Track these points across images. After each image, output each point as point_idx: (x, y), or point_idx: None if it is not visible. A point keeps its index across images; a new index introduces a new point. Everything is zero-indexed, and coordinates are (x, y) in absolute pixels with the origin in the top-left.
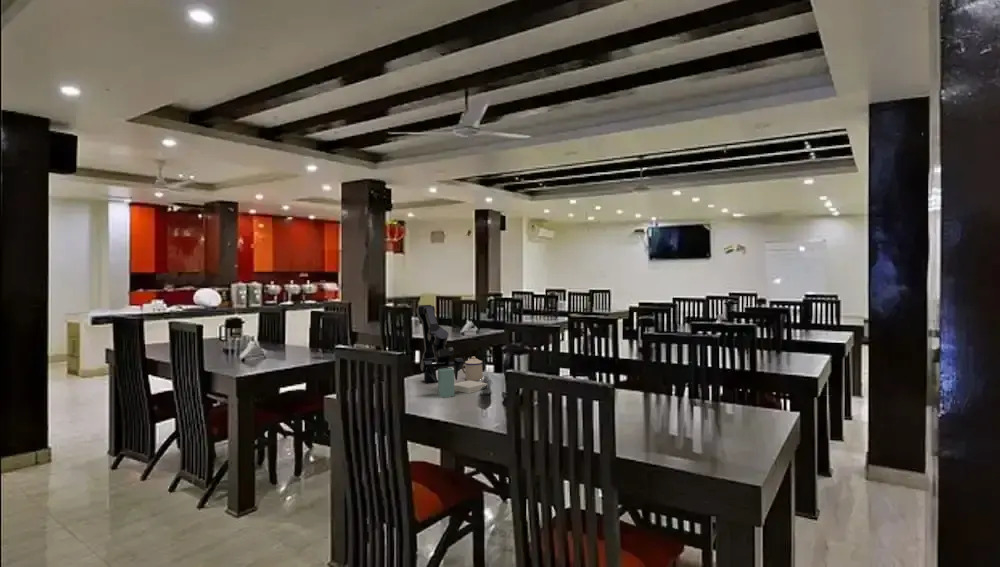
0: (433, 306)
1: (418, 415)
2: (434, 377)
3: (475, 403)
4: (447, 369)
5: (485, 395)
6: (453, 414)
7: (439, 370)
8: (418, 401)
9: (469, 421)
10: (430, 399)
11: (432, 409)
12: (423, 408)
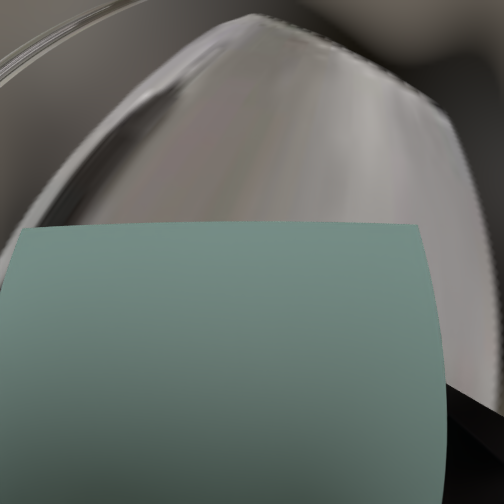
0: None
1: (426, 99)
2: (452, 392)
3: (158, 143)
4: (121, 347)
5: None
6: (306, 67)
7: (435, 381)
8: (471, 305)
9: (276, 33)
10: None
11: (386, 128)
12: (427, 156)
